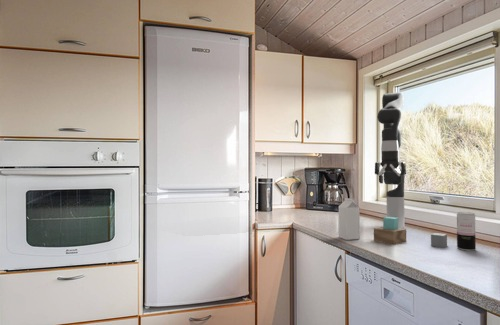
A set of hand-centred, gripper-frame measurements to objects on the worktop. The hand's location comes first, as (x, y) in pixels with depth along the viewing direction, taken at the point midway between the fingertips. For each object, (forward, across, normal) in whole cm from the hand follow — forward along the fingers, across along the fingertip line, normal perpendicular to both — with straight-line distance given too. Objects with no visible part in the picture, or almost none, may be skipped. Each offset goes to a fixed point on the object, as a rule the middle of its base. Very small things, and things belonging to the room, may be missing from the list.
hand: (390, 183), depth 169 cm
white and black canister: (+26, -33, +4) cm, 42 cm away
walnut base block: (+26, -3, +10) cm, 28 cm away
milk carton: (+26, +14, +16) cm, 33 cm away
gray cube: (+26, -23, +5) cm, 35 cm away
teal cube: (+20, -4, +9) cm, 22 cm away
